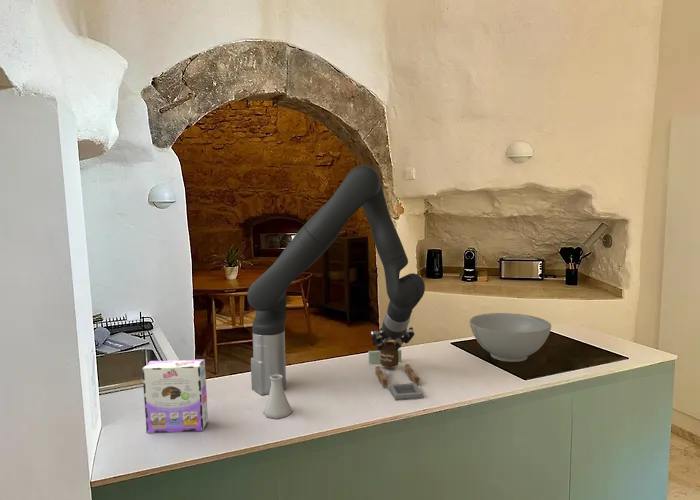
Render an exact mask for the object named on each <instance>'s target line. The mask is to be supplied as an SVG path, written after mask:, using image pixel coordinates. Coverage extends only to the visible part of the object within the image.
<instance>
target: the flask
mask: <svg viewBox="0 0 700 500" xmlns="http://www.w3.org/2000/svg"><path fill="white" fill-rule="evenodd" d="M282 378H283V376H282V375H278V374H276V375H272V376H270V379H271V389H270V393H269V394H268V397H267V400H266V401H265V405H264V409H263V410H262V414H263V415H264V416H265V418H270V419H276V420H277V419H282V418H285V417H288V416H289V415H290V414H292V412H293V410H292V406H291V405H290V402H289V401H288V399H287V395H286V394H285V390H283V386H282Z"/></svg>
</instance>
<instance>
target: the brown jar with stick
mask: <svg viewBox="0 0 700 500" xmlns="http://www.w3.org/2000/svg"><path fill="white" fill-rule="evenodd" d="M380 365H381V367H384V368H394V367H395V368H396V367H397V366H398V365H399V362H398V349H397V343H396V340H393V341H387V342H386V343H384V344H383V345H382V349H381V350H380Z"/></svg>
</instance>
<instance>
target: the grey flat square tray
mask: <svg viewBox="0 0 700 500" xmlns="http://www.w3.org/2000/svg"><path fill="white" fill-rule="evenodd" d="M388 391H389V393H390V394H391V395H392V397H393V399H394V401H404V400H406V401H407V400H416V399H424V392H423V391H422V390H421V387H420V386H417V384H416V383H413V382H410V383H409V382H407V383H395V384H388Z"/></svg>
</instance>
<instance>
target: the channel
mask: <svg viewBox="0 0 700 500" xmlns="http://www.w3.org/2000/svg"><path fill="white" fill-rule="evenodd" d="M374 369H375V371H374V372H375V373H374V374H375V376H376V378H377V379H378V381H379V383H380V385H381V387H382V389H388V379H387V377H386V375H385V373H384V372H383V370H382V368H381V367H380V365H377V366H375V368H374ZM404 373H405V374H406V376H407V377H408V378H409V380H410V381H411V383H416V384H417V386H418V387H420V377H419V376H418V375H417V373H416V372H415V370H414V369H413V368H412V367H411V365H410V364H408V363H407V364H404Z"/></svg>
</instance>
